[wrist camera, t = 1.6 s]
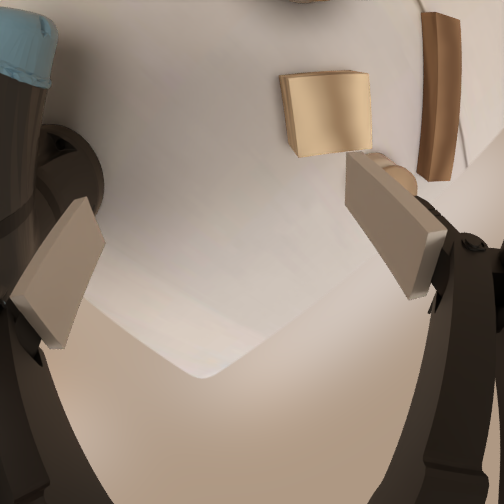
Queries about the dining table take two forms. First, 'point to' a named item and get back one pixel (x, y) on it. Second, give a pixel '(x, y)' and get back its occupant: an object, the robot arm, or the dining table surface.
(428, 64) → the board
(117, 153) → the dining table surface
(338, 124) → the block
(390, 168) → the sugar pot
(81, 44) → the dining table surface
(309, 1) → the coffee cup
